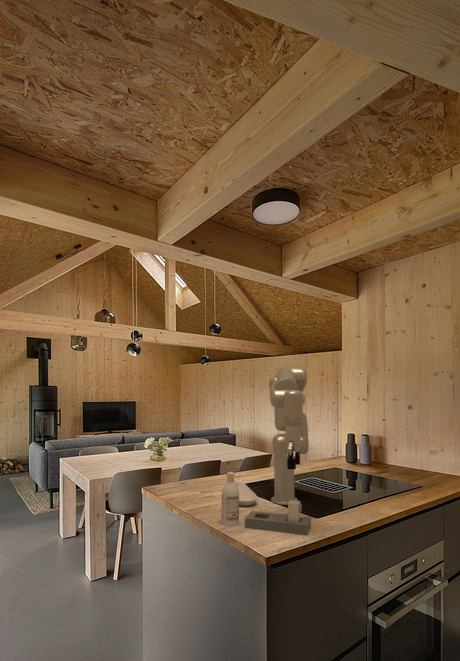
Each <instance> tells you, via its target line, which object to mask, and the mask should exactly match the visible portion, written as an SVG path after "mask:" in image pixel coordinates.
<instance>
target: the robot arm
mask: <svg viewBox="0 0 460 661" xmlns="http://www.w3.org/2000/svg"><path fill="white" fill-rule="evenodd" d="M307 383H308V373H307V371H306V369H305V368H303V367H301V366H298V367H297V366H285V367H280V368H279V369H278V370H277V371H276V375H275V376H271V377H270V379H269V381H268V385H269V386H268V387H269V400H270V404H271V406H272V407H273V408H274V409H273V410H274V426H275V429H276V430H277V431H279V432H284V433H278V434H276V435H275V434H274V436H273V438H272V439H271V440H272V442H271V443H272V451H273V462H274V463H273V464H274V468H273V469H274V470H273V471H274V476H273V477H274V480H273V481H274V496H272V497H271V502H272V503H274V504H276V505H283V506H288V502H289V501H290V500H293V501H299V499H298V498H297V497H295V471H296V470H297V466H300V464H301V455H306V454H308V453H309V450H310V446H309V445H310V444H309V429H308V428H309V424H308V418H307V415H306V414H305V413H304V405H305V403H306V402H305V401H306V399H305V398H306V397H305V394H304V393H303V392H304V390H305V387H306V385H307Z"/></svg>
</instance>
